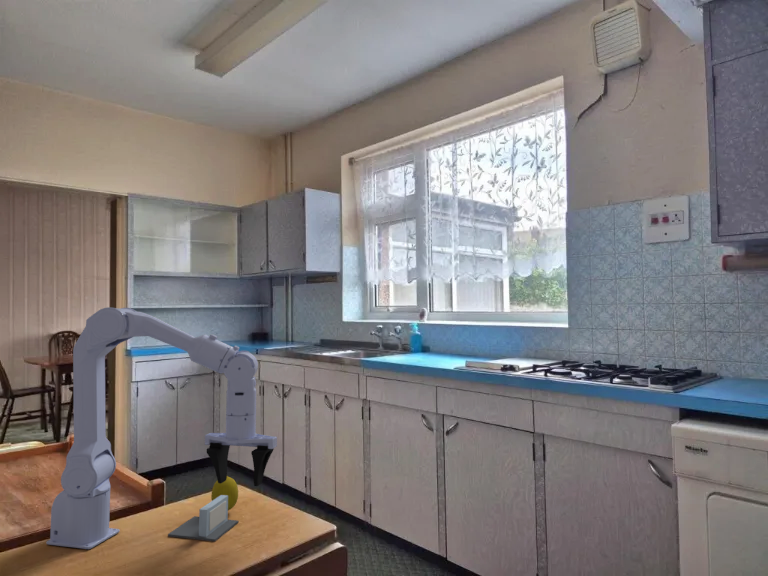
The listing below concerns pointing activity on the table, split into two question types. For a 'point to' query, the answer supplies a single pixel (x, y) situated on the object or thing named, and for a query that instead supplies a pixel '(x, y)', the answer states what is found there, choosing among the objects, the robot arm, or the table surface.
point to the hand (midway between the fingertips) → (239, 483)
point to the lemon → (226, 491)
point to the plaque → (213, 515)
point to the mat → (192, 530)
